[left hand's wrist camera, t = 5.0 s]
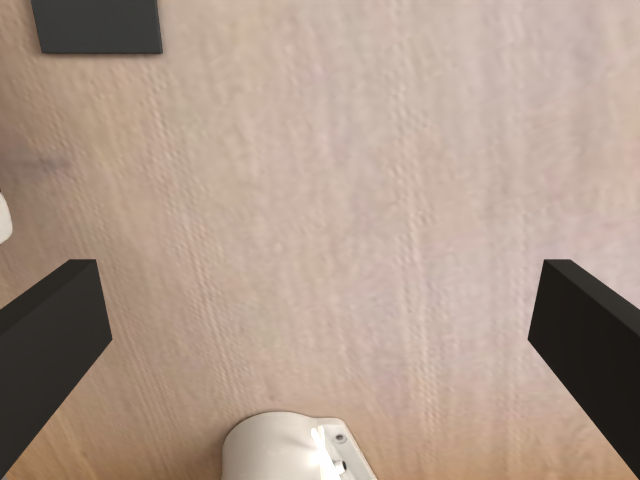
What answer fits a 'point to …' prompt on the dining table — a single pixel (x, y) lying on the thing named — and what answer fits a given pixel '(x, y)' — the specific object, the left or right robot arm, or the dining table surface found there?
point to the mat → (97, 26)
